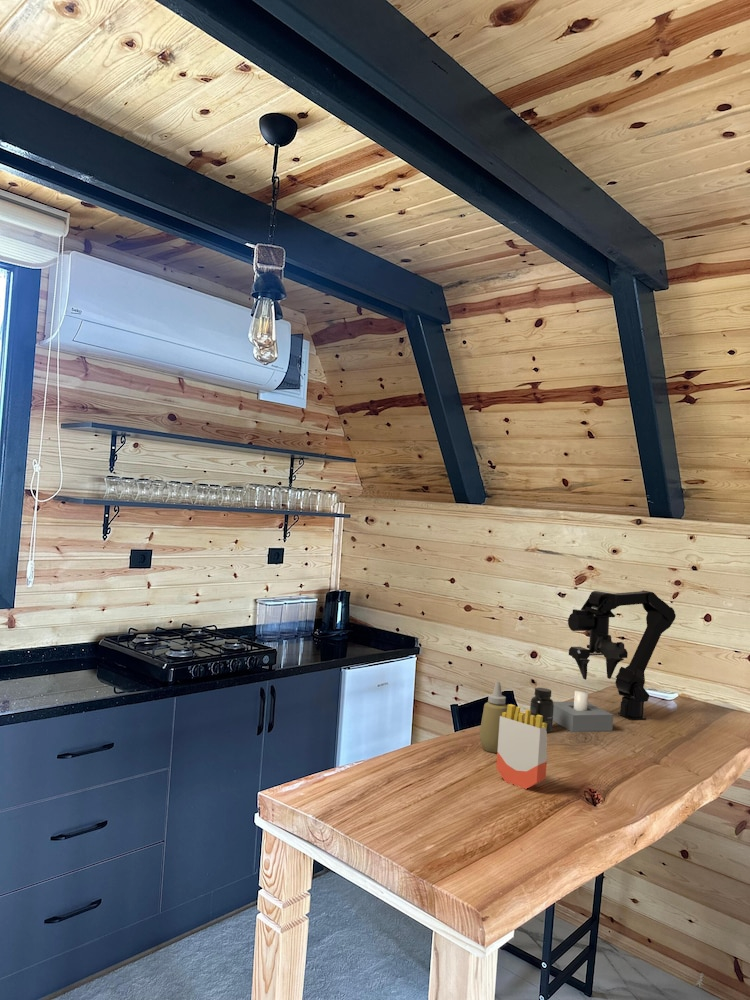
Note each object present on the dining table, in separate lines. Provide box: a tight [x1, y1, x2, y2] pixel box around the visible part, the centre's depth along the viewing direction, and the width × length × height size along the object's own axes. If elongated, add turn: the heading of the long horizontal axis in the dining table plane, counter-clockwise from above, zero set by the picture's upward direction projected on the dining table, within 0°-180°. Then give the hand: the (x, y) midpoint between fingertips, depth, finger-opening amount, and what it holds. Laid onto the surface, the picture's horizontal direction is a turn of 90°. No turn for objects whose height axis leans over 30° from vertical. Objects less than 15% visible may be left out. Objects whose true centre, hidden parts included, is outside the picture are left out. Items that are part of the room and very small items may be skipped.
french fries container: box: [495, 703, 548, 790], centre depth 160 cm, size 5×11×18 cm, turn 47°
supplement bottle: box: [529, 687, 555, 734], centre depth 204 cm, size 7×7×12 cm
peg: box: [573, 690, 589, 711], centre depth 212 cm, size 4×4×10 cm
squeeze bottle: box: [479, 681, 508, 754], centre depth 183 cm, size 8×8×18 cm
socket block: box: [553, 701, 614, 733], centre depth 212 cm, size 14×14×5 cm
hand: (597, 678), depth 220 cm, fingers open, 9 cm apart
